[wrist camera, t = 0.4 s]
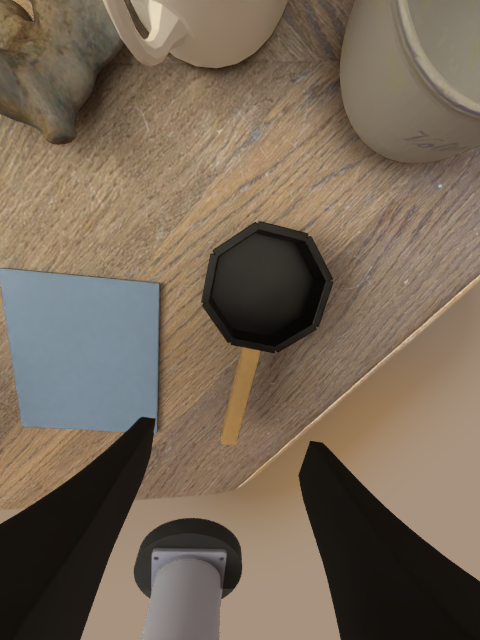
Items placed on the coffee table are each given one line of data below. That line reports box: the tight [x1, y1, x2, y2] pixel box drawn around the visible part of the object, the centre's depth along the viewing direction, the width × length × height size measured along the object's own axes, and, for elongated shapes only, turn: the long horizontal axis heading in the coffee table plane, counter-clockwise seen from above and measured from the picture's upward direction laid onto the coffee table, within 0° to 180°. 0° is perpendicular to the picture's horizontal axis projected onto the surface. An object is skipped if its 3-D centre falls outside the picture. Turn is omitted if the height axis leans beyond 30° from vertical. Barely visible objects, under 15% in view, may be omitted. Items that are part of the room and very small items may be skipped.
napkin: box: [0, 268, 160, 433], centre depth 19 cm, size 13×11×1 cm
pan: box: [201, 221, 333, 446], centre depth 18 cm, size 16×8×3 cm, turn 167°
